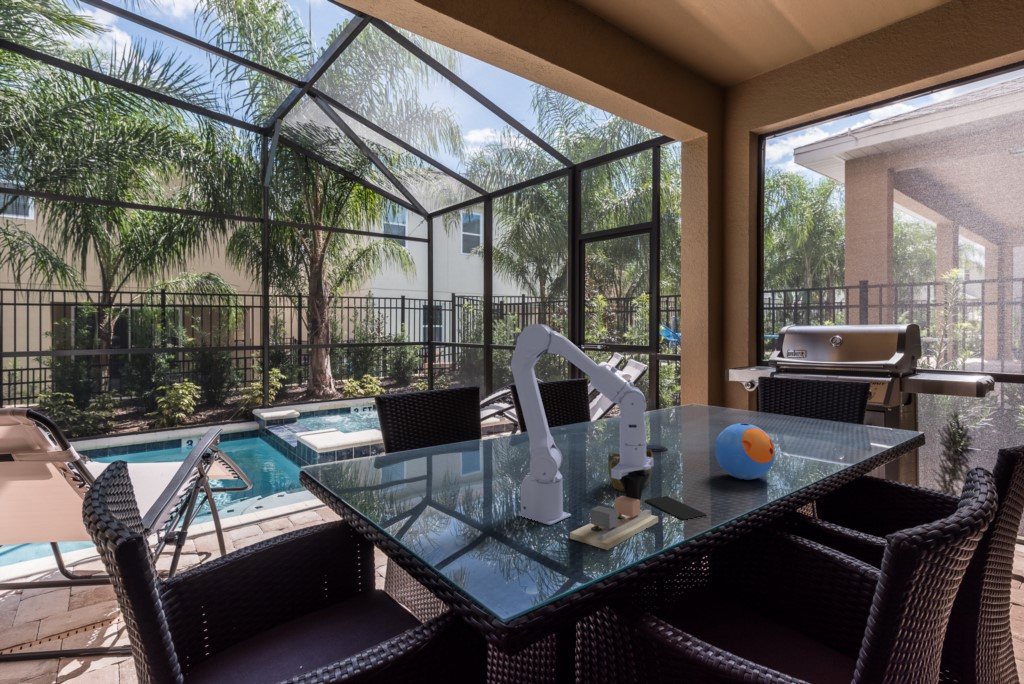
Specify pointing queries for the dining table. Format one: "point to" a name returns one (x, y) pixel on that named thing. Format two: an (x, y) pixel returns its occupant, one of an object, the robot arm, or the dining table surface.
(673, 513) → the smartphone
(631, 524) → the divider bar
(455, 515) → the dining table surface
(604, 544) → the hole plate
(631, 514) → the brownish pink rectangular block
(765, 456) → the treat dispenser ball
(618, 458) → the cup
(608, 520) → the fixed leg
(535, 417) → the robot arm
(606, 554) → the dining table surface
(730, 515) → the dining table surface
